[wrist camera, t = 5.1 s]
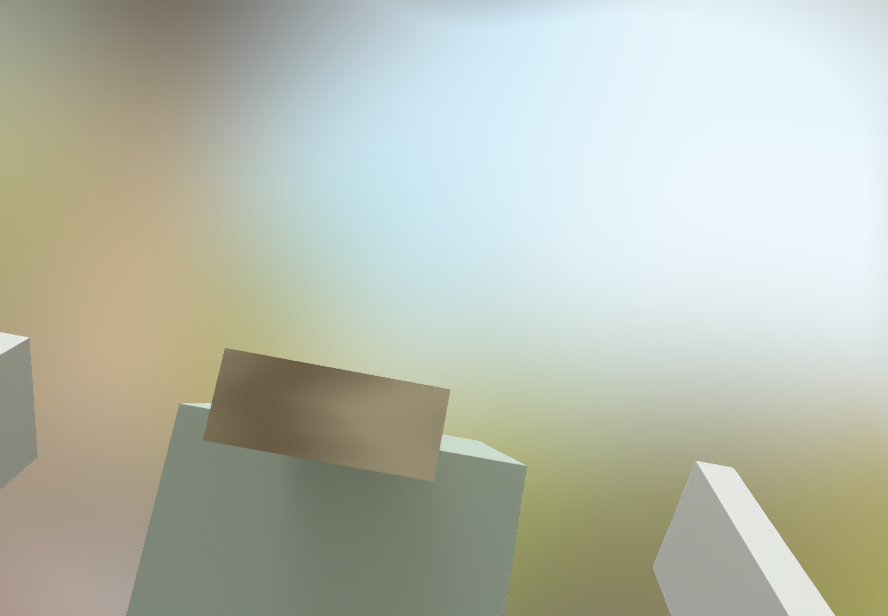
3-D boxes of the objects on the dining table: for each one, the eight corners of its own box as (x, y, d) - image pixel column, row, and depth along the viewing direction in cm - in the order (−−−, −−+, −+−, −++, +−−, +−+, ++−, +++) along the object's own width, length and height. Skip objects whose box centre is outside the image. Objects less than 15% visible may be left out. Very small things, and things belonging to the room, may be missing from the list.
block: (202, 440, 11) (225, 348, 12) (331, 415, 32) (338, 382, 32) (434, 481, 12) (450, 389, 12) (413, 430, 32) (419, 397, 33)
